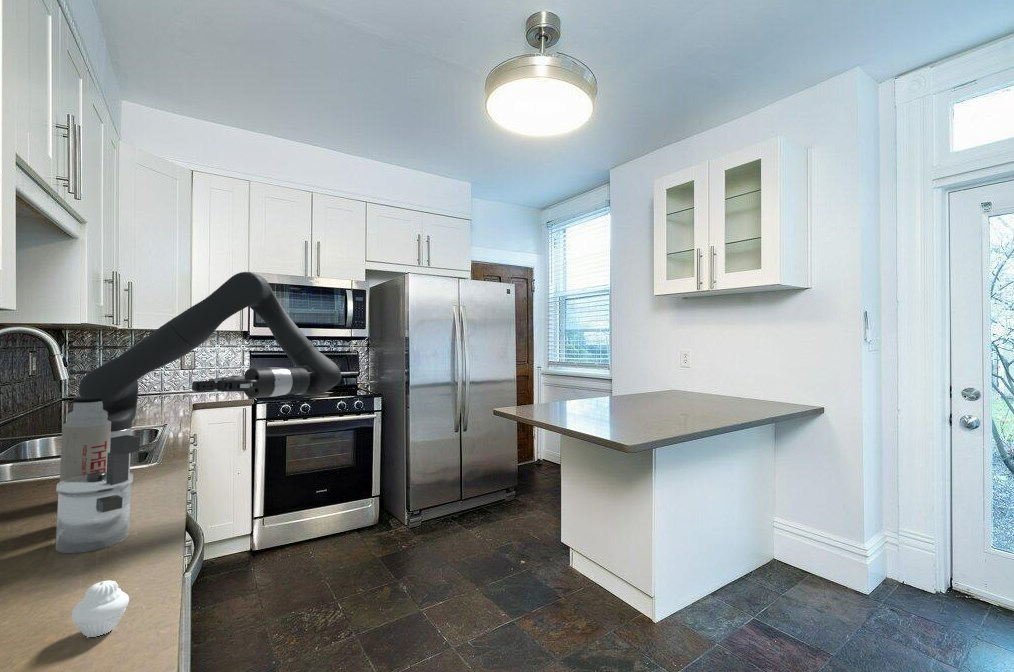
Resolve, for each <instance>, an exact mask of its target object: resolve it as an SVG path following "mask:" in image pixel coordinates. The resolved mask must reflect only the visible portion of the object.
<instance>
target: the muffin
mask: <svg viewBox="0 0 1014 672" xmlns="http://www.w3.org/2000/svg"><path fill="white" fill-rule="evenodd" d="M129 602H130V596H129V595H128V594H127V593H126V592H124V591H122V589H121V588H120V587H119V584H118V583H117V581H115V580H103V581H100V582H96V583H94V584H93V585H90V586H89V587H88V588H87V590H86V591H85V593H84V596H83V598H81V600H80V601H79V602H78V603H77V604H76V605H75V606H74V608H73V609H72V611H71V619H72V620H73V621H74V622H73V623H74V626H76V627H77V629H78V630H79V631H80V632H81V633H82V635H83V636H84V635H85V636H87V637H86V638H88V637H95V636H99V635H103V634H105V635H107V634H106V633H108V632H109V633H111V632H112V631H113V630H114V629H115V628H116V627H117V626H118V623H119V622H120V620H121V618H122V617H123V615H124V613H125V611H126V610H127V606H128V605H129V604H130V603H129ZM111 630H112V631H111ZM110 631H111V632H110ZM109 633H108V634H109ZM85 636H84V637H85ZM103 636H104V635H103Z"/></svg>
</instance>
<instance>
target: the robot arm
mask: <svg viewBox="0 0 1014 672" xmlns="http://www.w3.org/2000/svg"><path fill="white" fill-rule="evenodd" d="M245 308H250V309H252V311H253V312H254V313H256V314H257V315H258V316H259V317H260V318H261V320H262V321H263V322H264V324H265V325H266V326H267V328H268V329H269V331H270V332H271V334H272V335H273V337H274V339H275V341H276V342H277V344H278V345H279V347H280V349H281V350H282V351H283V352H284V353H285V354H286V356H287V357H288V359H290V361H291V362H292V363H293V364H294V365H295V366H296V367H280V366H279V367H276V366H275V367H274V366H273V367H272V366H271V367H250V368H247V370H245V373H244V375H241V374H240V375H239V374H238V375H237V374H236V375H231V376H220V377H216V378H215V377H214V378H209V379H208V380H195V381H192V383H191V390H192V392H209V391H211V392H221V393H244V394H245V396H246V397H248V398H249V399H257V398H258V399H259V398H270V397H271V398H272V397H278V396H284V395H285V396H286V395H293V394H301V395H307V396H320V395H323V394H326V393H328V391H330V390H331V389H333V388H334V387H335V386H337V385H338V384H339V383H340V382H341V380H342V372H341V369H340V368H339V366H338V365H337V364H336V363H335V362H334V361H332V360H331V359H330V358H329V357H328V356H326V355H324V353H322V352H320V351H319V350H318V349H316V348H315V346H314V345H313V344H312V342H311V341H310V340H309V339H308V338H307V336H306V335H305V334H304V332H303V331H302V330H301V329H300V328H299V327H298V325H296V323H295V322H294V321H293V320H292V319H291V317H290V316H289V315H288V313H287V312H286V310H285V309H284V307H283V306H282V305H281V303H280V301H279V300H278V298H277V296H276V294H275V292H274V291H273V289H272V286H271V285H270V284H269V282H268V280H267V279H266V278H264V276H262V275H260V274H256V273H255V272H250V271H243V272H242V271H241V272H238V273H235V274H234V275H232V276H231V277H230V278H228V279H227V280H226V281H225V282H224V283H222V284H221V285H220V286H219V287H218V288H217V289H215V290H214V291H213V292H212V293H211V294H209V295H208V296H207V297H205V298H204V299H202V300H201V301H199V302H197V303H195V304H194V305H193V306H190V307H189V308H187V309H185V310H184V311H183V312H181V313H180V314H178V315H176V316H175V317H173V318H172V319H170V320H168V321H167V322H166V323H164V324H163V325H161V326H160V327H158V328H157V329H156V330H155V331H153V332H152V333H150V334H148V335H147V336H146V337H144V338H142V339H141V340H140V341H139V342H137V343H136V344H135V345H133V346H132V347H130V348H129V349H128V350H127V351H125V352H123V353H122V354H120V355H118V356H116V357H115V358H113V359H111V360H110V361H108V362H105V363H104V364H102V365H100V366H98V367H96V368H94V369H93V370H90V371H89V372H88V373H86V374H85V375H84V376H83V377H82V379H81V381H80V383H79V386H78V394H79V396H80V397H103V401H102V403H103V410H105V411H107V412H108V414H107V415H108V417H107V420H109V421H111V434H110V443H111V438H113V437H119V436H124V435H130V436H132V430H133V429H132V427H133V421H134V419H135V416H136V414H137V407H138V396H139V381H138V380H139V379H140V378H141V379H142V378H143V376H145V375H147V374H149V373H151V372H154V371H155V370H158V369H160V368H162V367H164V366H166V365H168V364H171V363H173V362H175V361H178V360H180V359H182V358H183V357H185V356H186V355H188V354H189V353H191V352H192V351H193V350H195V349H197V348H198V347H199V346H200V345H202V344H203V343H205V342H206V341H207V340H208V339H209V338H210V337H211V335H213V333H214V332H215V331H216V330H217V329H218V327H219V326H220V325H221V324H222V323H224V322H225V321H226V320H228V319H229V318H231V317H232V316H233V315H236V314H237V313H238V312H240V311H242V310H244V309H245ZM304 367H309V368H310V369H311V370H313V371H312V372H308V371H307V369H305V368H304ZM131 454H132V453H129V469H128V472H129V473H131Z"/></svg>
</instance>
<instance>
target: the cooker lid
mask: <svg viewBox="0 0 1014 672" xmlns="http://www.w3.org/2000/svg"><path fill="white" fill-rule="evenodd" d="M140 445H141V436H140V435H131V436H130V435H124V436H119V437H113V438H111V443H110V452H109V453H108V455H107V472H94V473H89V474H87V475H81V476H77V477H73V478H69V479H66V480H63V481H61V482H60V481H59V482H58V483H57V484H56V491H55V492H56V494H58V493H59V494H64V495H82V494H92V493H99V492H105V491H110V490H114V489H118V488H121V487H124V486H127V485H129V484H131V485H132V483H133V481H134V474H133V473H132V472H130V473H129V472H128V469H129V453H131V454H132V453H137V452H140Z"/></svg>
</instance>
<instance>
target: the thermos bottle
mask: <svg viewBox="0 0 1014 672" xmlns="http://www.w3.org/2000/svg"><path fill="white" fill-rule="evenodd" d="M102 401H103V397H81V396H80V397H75V398H73V399H72V403H74V404H73V406H72V411H70V412H68V413H67V414H66V422H65V423H63V424H62V427H61V447H60V448H61V450H60V464H59V465H60V468H59V469H60V470H59V482H61V481H63V480H66V479H69V478H73V477H77V476H81V475H87V474H89V473H94V472H107V455H108V453H109V452H110V434H111V421H109V420H107V417H108V415H107V414H108V412H107V411H105V410H103V403H102Z"/></svg>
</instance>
